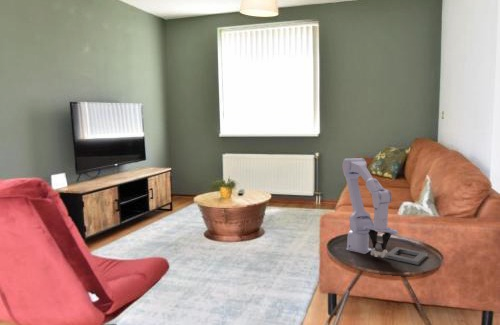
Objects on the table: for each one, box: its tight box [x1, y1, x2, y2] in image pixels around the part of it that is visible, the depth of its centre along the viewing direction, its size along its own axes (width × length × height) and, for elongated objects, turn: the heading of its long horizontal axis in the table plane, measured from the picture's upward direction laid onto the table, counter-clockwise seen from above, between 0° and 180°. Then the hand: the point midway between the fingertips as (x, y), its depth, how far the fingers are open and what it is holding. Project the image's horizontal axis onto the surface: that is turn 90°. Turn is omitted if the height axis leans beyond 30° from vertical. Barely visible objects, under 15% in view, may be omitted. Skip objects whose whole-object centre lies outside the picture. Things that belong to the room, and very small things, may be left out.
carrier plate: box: [384, 246, 428, 266], centre depth 184 cm, size 14×14×2 cm
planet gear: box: [370, 240, 389, 259], centre depth 179 cm, size 7×7×6 cm
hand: (379, 248), depth 179 cm, fingers closed on planet gear, 4 cm apart
